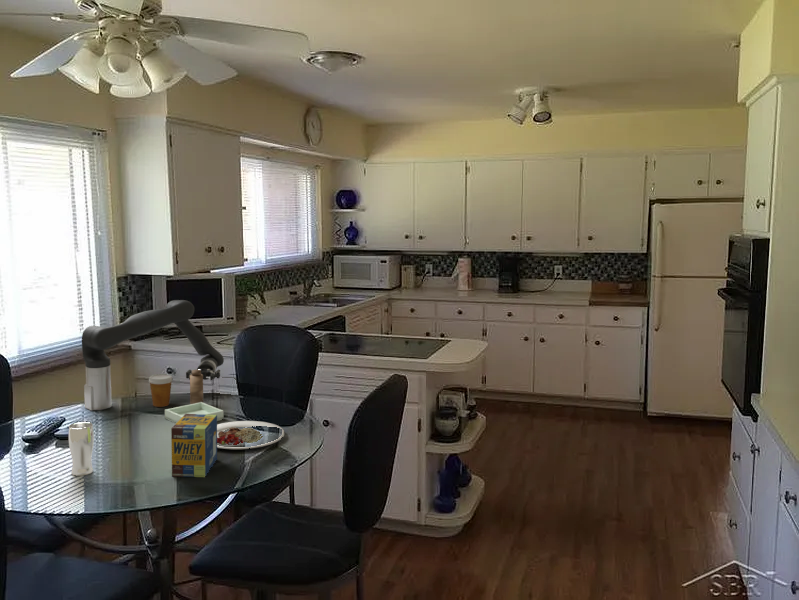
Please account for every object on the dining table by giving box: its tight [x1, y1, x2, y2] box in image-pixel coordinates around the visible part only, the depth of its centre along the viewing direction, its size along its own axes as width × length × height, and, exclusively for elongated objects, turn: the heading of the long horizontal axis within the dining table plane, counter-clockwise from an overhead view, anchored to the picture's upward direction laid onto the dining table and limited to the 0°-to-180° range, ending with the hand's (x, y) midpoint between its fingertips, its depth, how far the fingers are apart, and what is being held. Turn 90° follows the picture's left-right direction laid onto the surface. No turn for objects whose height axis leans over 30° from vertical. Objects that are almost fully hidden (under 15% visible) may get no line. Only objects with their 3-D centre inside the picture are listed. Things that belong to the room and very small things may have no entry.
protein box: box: [170, 414, 218, 478], centre depth 215 cm, size 10×15×16 cm
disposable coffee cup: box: [148, 373, 174, 408], centre depth 282 cm, size 10×10×12 cm
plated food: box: [217, 420, 285, 450], centre depth 245 cm, size 30×30×3 cm
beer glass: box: [68, 421, 95, 477], centre depth 209 cm, size 7×7×15 cm
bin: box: [164, 401, 224, 424], centre depth 265 cm, size 16×16×4 cm
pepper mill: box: [189, 369, 204, 405], centre depth 282 cm, size 5×5×15 cm
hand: (200, 378), depth 292 cm, fingers open, 8 cm apart
